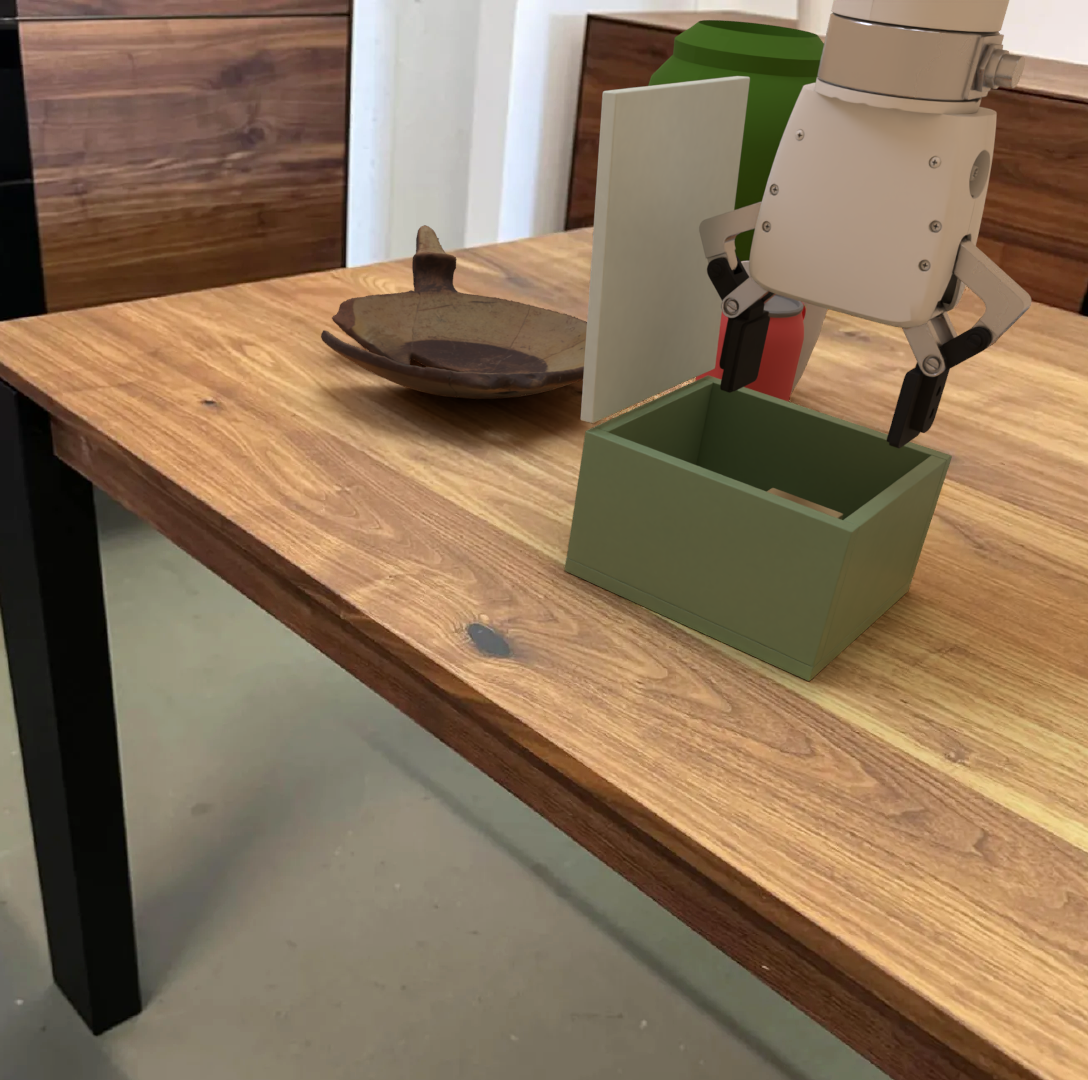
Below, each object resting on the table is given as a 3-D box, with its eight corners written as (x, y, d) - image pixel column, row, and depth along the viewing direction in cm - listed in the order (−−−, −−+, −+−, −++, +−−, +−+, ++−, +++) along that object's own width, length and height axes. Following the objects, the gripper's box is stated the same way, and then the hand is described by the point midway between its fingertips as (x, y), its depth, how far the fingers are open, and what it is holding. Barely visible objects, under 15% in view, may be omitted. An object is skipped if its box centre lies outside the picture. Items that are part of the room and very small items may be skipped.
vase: (823, 328, 117) (892, 52, 104) (622, 310, 116) (667, 29, 103) (780, 272, 134) (835, 27, 121) (604, 256, 133) (640, 7, 120)
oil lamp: (285, 426, 86) (286, 320, 82) (370, 303, 112) (374, 217, 108) (599, 468, 85) (616, 362, 81) (613, 334, 110) (626, 248, 106)
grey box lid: (750, 76, 68) (737, 75, 68) (616, 92, 58) (602, 90, 59) (715, 368, 76) (703, 366, 76) (592, 424, 66) (579, 420, 67)
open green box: (908, 591, 73) (952, 455, 68) (809, 681, 64) (852, 531, 59) (682, 502, 81) (708, 374, 76) (563, 570, 72) (584, 430, 67)
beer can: (695, 437, 91) (727, 277, 85) (782, 459, 89) (821, 297, 82) (668, 467, 86) (700, 299, 79) (759, 491, 84) (799, 321, 77)
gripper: (1118, 91, 55) (1000, 443, 64) (772, 36, 63) (711, 353, 72) (1070, 104, 49) (949, 485, 59) (700, 42, 58) (644, 382, 67)
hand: (817, 412), depth 65 cm, fingers open, 9 cm apart
